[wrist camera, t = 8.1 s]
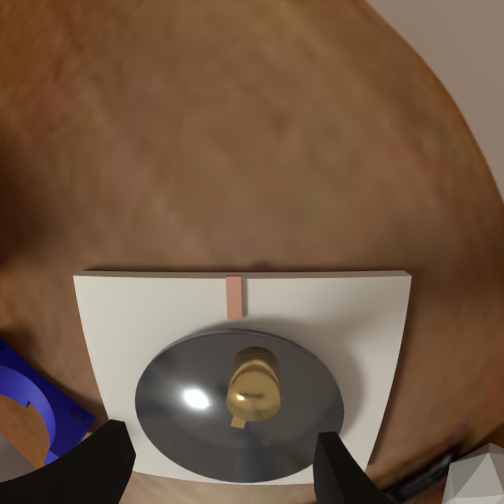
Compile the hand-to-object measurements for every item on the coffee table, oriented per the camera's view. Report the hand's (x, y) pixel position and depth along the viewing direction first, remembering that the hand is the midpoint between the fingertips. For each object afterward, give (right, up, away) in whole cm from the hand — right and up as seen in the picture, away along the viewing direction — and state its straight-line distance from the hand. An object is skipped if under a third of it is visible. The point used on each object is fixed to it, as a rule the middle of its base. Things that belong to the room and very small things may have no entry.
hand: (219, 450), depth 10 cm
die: (+25, -15, +12) cm, 31 cm away
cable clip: (-18, -5, +12) cm, 22 cm away
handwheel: (0, -3, +8) cm, 9 cm away
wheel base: (0, -3, +10) cm, 10 cm away
